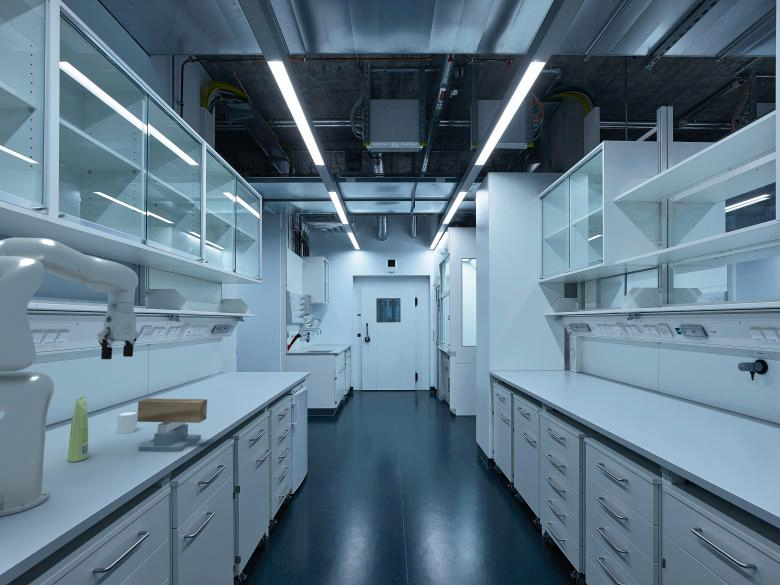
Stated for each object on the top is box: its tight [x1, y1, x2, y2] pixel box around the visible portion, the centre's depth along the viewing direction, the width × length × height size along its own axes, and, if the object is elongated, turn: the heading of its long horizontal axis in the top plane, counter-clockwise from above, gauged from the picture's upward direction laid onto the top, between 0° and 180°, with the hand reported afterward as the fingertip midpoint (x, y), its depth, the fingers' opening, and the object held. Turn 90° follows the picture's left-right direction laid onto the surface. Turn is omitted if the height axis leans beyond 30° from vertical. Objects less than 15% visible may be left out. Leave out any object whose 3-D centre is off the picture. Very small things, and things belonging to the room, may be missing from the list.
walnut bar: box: [137, 397, 208, 424], centre depth 137 cm, size 5×22×7 cm, turn 89°
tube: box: [67, 395, 89, 463], centre depth 122 cm, size 6×5×20 cm
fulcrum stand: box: [138, 422, 202, 453], centre depth 136 cm, size 14×14×8 cm
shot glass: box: [116, 411, 138, 435], centre depth 151 cm, size 7×7×7 cm
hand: (117, 357), depth 131 cm, fingers open, 9 cm apart
